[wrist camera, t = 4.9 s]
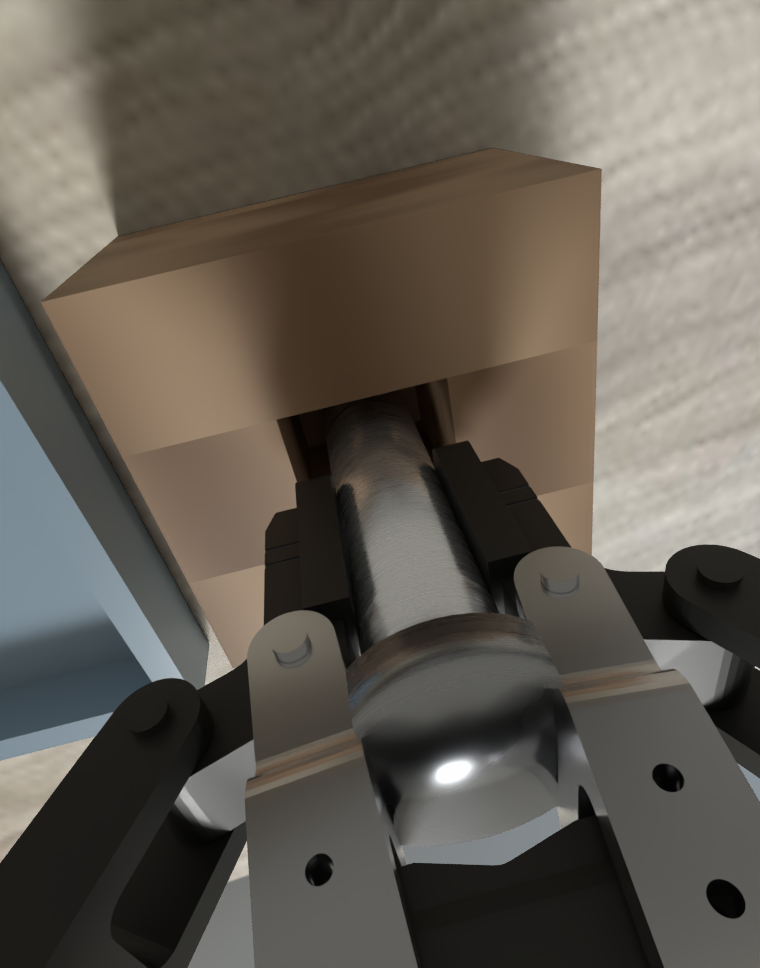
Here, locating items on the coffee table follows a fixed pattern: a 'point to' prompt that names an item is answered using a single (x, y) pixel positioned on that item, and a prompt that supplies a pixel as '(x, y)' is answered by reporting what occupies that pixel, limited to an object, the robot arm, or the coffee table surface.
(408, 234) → the block
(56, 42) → the coffee table surface
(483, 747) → the lock pin
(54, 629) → the tray
